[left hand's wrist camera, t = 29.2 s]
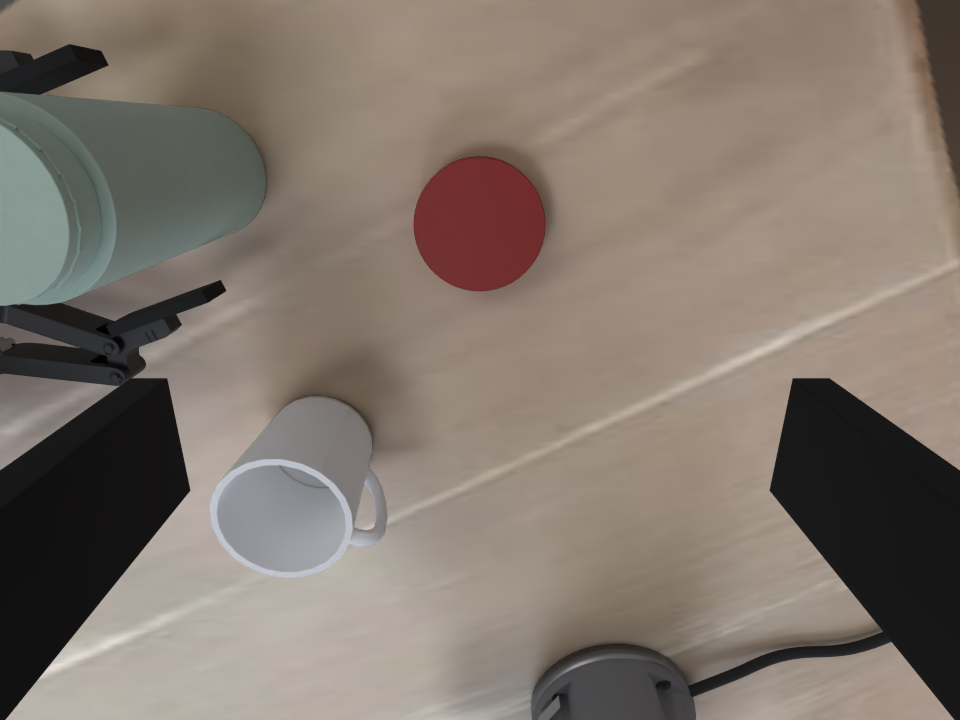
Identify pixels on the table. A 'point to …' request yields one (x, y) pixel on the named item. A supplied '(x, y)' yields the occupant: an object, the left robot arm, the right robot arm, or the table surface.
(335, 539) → the mug
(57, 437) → the left robot arm
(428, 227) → the lid
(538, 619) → the table surface
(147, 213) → the jar
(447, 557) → the table surface
